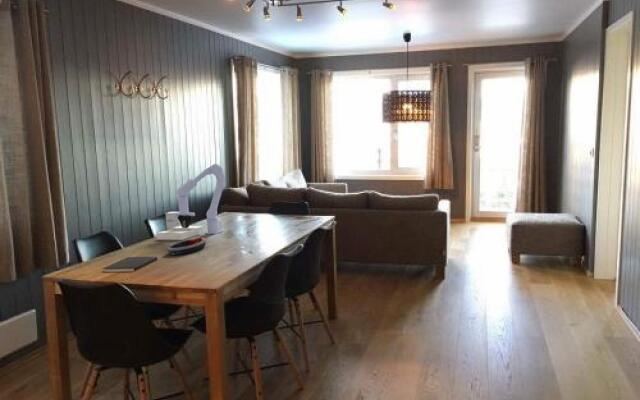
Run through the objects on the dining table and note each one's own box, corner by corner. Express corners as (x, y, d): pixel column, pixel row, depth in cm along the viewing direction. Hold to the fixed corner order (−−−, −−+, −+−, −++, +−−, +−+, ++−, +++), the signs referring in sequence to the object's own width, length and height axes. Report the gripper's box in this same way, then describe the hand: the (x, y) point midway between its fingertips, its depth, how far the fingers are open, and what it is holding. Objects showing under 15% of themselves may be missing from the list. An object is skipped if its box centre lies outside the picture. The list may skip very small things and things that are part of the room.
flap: (180, 226, 350) (179, 219, 349) (203, 226, 343) (203, 219, 343) (172, 228, 343) (172, 221, 342) (196, 228, 336) (196, 221, 336)
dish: (158, 256, 281) (157, 247, 280) (193, 244, 309) (192, 235, 309) (183, 257, 275) (182, 247, 275) (216, 245, 304) (215, 236, 303)
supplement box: (166, 231, 359) (164, 213, 357) (173, 229, 366) (171, 211, 364) (175, 231, 356) (174, 213, 355) (182, 229, 363) (180, 211, 361)
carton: (173, 235, 343) (172, 228, 343) (197, 235, 337) (196, 228, 336) (157, 240, 328) (156, 232, 328) (182, 240, 322) (181, 233, 321)
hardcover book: (103, 273, 252) (102, 268, 252) (128, 261, 275) (128, 257, 274) (134, 272, 249) (134, 267, 249) (157, 261, 272) (157, 256, 271)
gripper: (170, 206, 338) (172, 228, 339) (189, 206, 332) (191, 228, 334) (176, 205, 344) (178, 226, 346) (196, 205, 339) (197, 226, 340)
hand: (185, 227), depth 340 cm, fingers closed on flap, 2 cm apart
